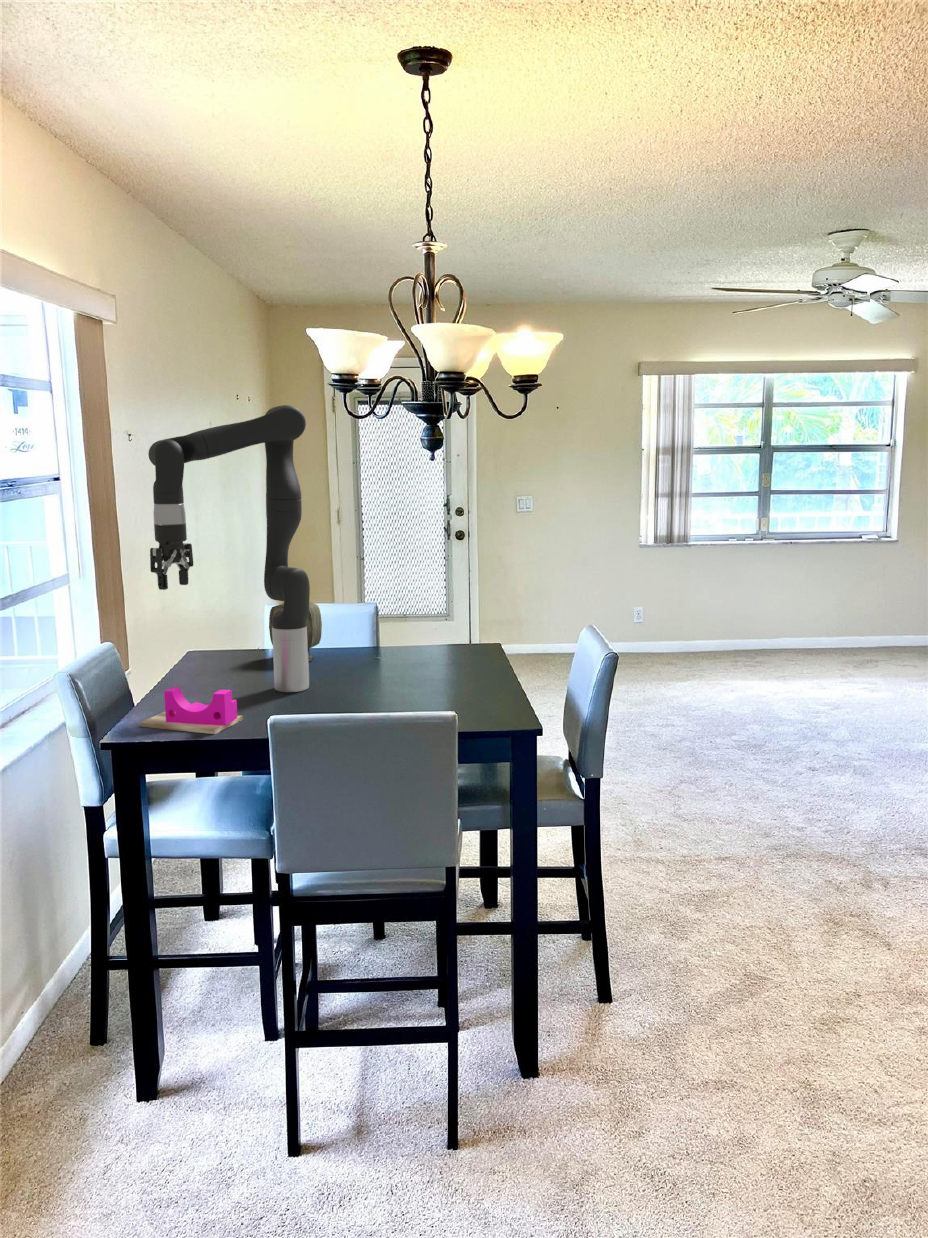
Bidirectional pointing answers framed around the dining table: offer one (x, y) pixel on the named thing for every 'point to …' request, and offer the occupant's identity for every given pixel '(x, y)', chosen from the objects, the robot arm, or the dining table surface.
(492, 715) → the dining table surface
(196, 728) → the oak board
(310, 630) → the tabletop clock
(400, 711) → the dining table surface
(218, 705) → the magenta cradle block
